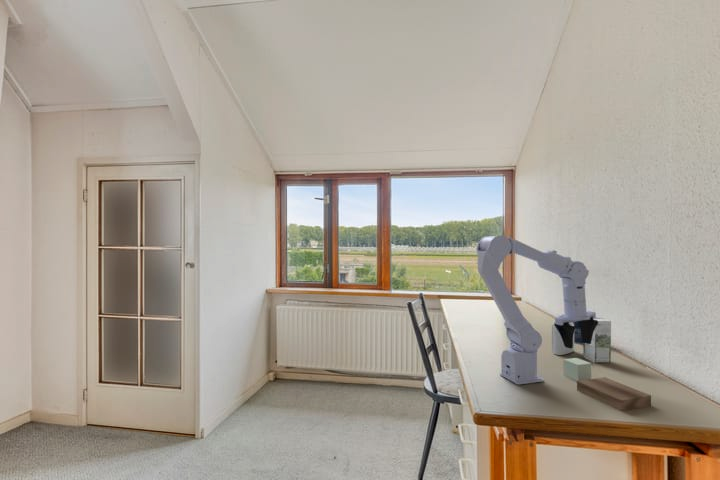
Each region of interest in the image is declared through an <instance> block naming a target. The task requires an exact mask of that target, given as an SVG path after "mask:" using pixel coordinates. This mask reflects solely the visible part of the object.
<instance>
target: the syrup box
mask: <svg viewBox="0 0 720 480" xmlns="http://www.w3.org/2000/svg"><path fill="white" fill-rule="evenodd" d="M593 320H597V321H598V325H597V326H596V328H595V330H594V332H593V336H592V340H591V344H587V343H584V344H582V345H583V351H582V352H583V353H582V354H583V355H582V356H583V359H586V360H587V361H590V362H592V363H595V364H596V363H597V364H599V363H600V364H602V363H603V364H606V363H607V364H609V363H611V360H612V359H611V357H612V356H611V352H612V351H611V350H612V321H611V320H609V319H607V318H604V317H601V316H600V317H599V316H598V317H597V316H596V319H593Z"/></svg>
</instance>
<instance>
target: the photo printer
mask: <svg viewBox="0 0 720 480" xmlns="http://www.w3.org/2000/svg"><path fill="white" fill-rule="evenodd" d="M554 323H555V321H554V322H553V323H552V326H551V353H553V354H554V355H557V356H565V355H568V354H571V353H573V352H574V351H575V343H574V334H573V347H572V348H567V347H565V346H564V343H563V340H562V338H561V335H560V333H559V332H558V330H557V328H556V327H555V325H554ZM569 324H570V325H571V326H574V323H573V322H571V323H569Z"/></svg>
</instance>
